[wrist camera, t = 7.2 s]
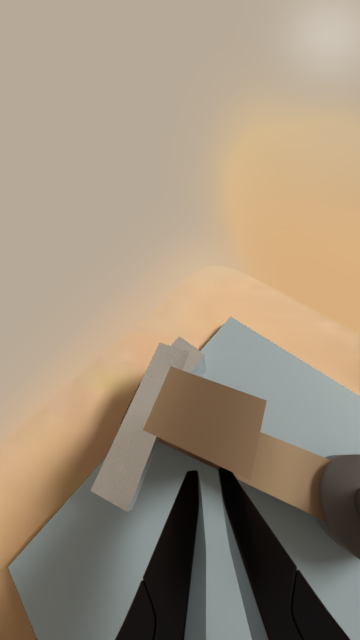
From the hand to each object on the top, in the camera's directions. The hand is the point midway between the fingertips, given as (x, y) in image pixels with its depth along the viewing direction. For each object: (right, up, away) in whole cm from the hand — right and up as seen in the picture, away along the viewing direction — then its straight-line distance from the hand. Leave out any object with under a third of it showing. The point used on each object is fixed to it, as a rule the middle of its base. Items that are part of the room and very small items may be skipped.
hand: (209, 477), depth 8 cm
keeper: (-2, -1, +7) cm, 8 cm away
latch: (+3, -2, +5) cm, 6 cm away
